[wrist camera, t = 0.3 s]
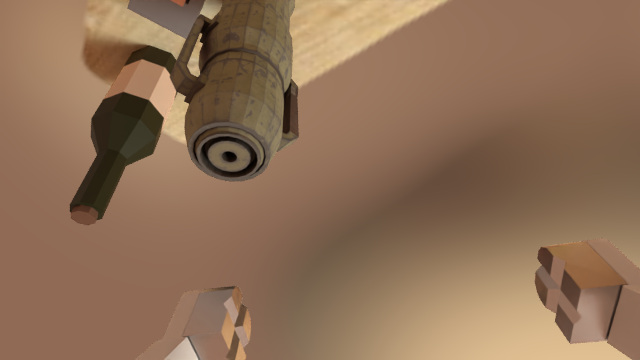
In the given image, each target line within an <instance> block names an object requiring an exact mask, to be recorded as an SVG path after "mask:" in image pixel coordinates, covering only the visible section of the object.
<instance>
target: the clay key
mask: <svg viewBox="0 0 640 360" xmlns="http://www.w3.org/2000/svg"><path fill="white" fill-rule="evenodd" d="M171 1H173V2H175V3H177V4H178V5H180V6H182V7H183V5H184V3H185V2H186V0H171Z"/></svg>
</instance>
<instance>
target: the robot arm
mask: <svg viewBox="0 0 640 360" xmlns="http://www.w3.org/2000/svg"><path fill="white" fill-rule="evenodd" d="M538 260H539V262H540V263H541V264H542V266H541V267H540V268H539V269H538V270H537V271H536V273H535V285H536V289H537V293H538V295H539V298H540V300H541V301H542V303H543V304H544V306H545V307H546V308H547V309H549V310H551V311H553V312H554V313H556V318H555V322H556V324H557V325H558V327H559V328H560V330H561V331H562V332H563V334H564V336H565V337H566V339H567V340H568V341H569V343H570V344H572V343H585V342H598V341H607V343H609V344H610V345H611V346H613V347H614V348H616V349H618V350H619V351H620V352H622V353H623V354H625V355H626V356H628V357H630V358H631V359H632V360H640V269H639V268H638V267H637V266H636V265H635V264H634V263H633V262H631V261H630V260H629V259H628V258H627V257H626V256H625V255H624V254H623V253H622V252H621V251H619V250H618V249H617V248H616V247H615V246H614V245H613V244H612V243H611V242H610V241H608V240H606V239H604V238H599V239H592V240H585V241H581V242H573V243H565V244H558V245H550V246H543V247H541V248H540V249H539V251H538ZM242 297H243V295H242V293H241V290H240V288H239V287H237V286H232V287H222V288H212V289H204V290H197V291H187V292H185V293H184V294H183V295H182V296H181V298H180V300H179V303H178V305H177V307H176V309H175V312H174V314H173V316H172V319H171V321H170V323H169V325H168V328H167V330H166V332H165V334H164V336H163V339H162V340H157V341H156V342H155V343H153V344H152V345H151V346H150V347H149V348H148V349H147V350H146V351H144V352H143V353H142V354H141V355H140V356H139V357H138V358H136V359H135V360H245V359H246V354H245V352H244V349H243V348H244V347H245V346H246V345H247V343H248V342H249V339H250V334H251V320H250V315H249V312H248V308H247V307H246V306H244V305H243V304H242V303H241V301H242Z"/></svg>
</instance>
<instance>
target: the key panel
mask: <svg viewBox="0 0 640 360" xmlns="http://www.w3.org/2000/svg"><path fill="white" fill-rule="evenodd" d="M204 2H205V0H186V2H185V3H184V5H183V7H182V6H180V5H178V4H177V3H175V2H173V1H171V0H130V1H129V5H128V9H130V10H132V11H133V12H135V13H137V14H139V15H141V16H143V17H145V18H147V19H149V20H151V21H153V22H155V23H157V24H158V25H160V26H162V27H164V28H166V29H168V30H170V31H172V32H174V33H176V34H178V35H180V36H181V37H183V38H185V39H187V36H188V34H189V32H190V30H191V28H192V26H193V24H194V22H195V21H196V19H197V17H198V16H199V14H200V11H201V9H202V6H203V4H204Z"/></svg>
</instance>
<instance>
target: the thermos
mask: <svg viewBox="0 0 640 360" xmlns="http://www.w3.org/2000/svg"><path fill="white" fill-rule="evenodd" d="M294 8H295V0H223V4H222V7H221V10H220V12H219V13H218V14H217V15H216V16H215V17H214V18H213V19H212V20H211V19H209V18H207V17H205V16H203V15H202V14H200V15H199V16H198V17H197V19H196V21H195V22H194V24H193V26H192V28H191V30H190V32H189V34H188V36H187V39H186V41H185V43H184V45H183V48H182V50H181V52H180V54H179V57H178V59H177V61H176V63H175V65H174V68H173V70H172V72H171V74H170V79H171V81H172V83H173V86H174V88H175V90H176V91H177V92H179V93H181V94H183V95H185V96H186V97H185V100H184V102H187V103H189V106H188V109H187V112H186V115H185V136H186V141H187V147H188V151H189V154H190V157H191V160H192V161H193V162H194V163H195V165H196V166H197V167H198V168H199V169H200V170H202V171H203V172H204V173H206V174H208V175H209V176H212V177H214V178H217V179H220V180H225V181H245V180H248V179H252V178H254V177H256V176H258V175H259V174H261V173H262V172H263V171H264V170H265V169H266V168H267V166H268V165H269V163H270V162H271V160H272V158H273V157H274V155H275V153H276V152H278V151H280V150H282V149H284V148H285V147H287V146H289V145H291V144H292V143H294V142H295V141H296V139H297V138H298V136H299V135H298V107H297V95H298V86H297V85H296V84H295V82H294V81H293V80H292V79H291V77H292V55H293V49H292V37H291V35H290V33H289V24H290V17H291V15H292V13H293V10H294ZM200 33H202V37H201V39H200V42H201V43H203V45H202V48H201V50H200V55H199V69H200V75H199V77H196V76H194V75H192V74H191V73H190V71H189V69H188V67H187V64H188V61H189V59H190V56H191V54H192V51H193V49H194V46H195V44H196V41H197V39H198V36H199V34H200Z"/></svg>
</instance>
